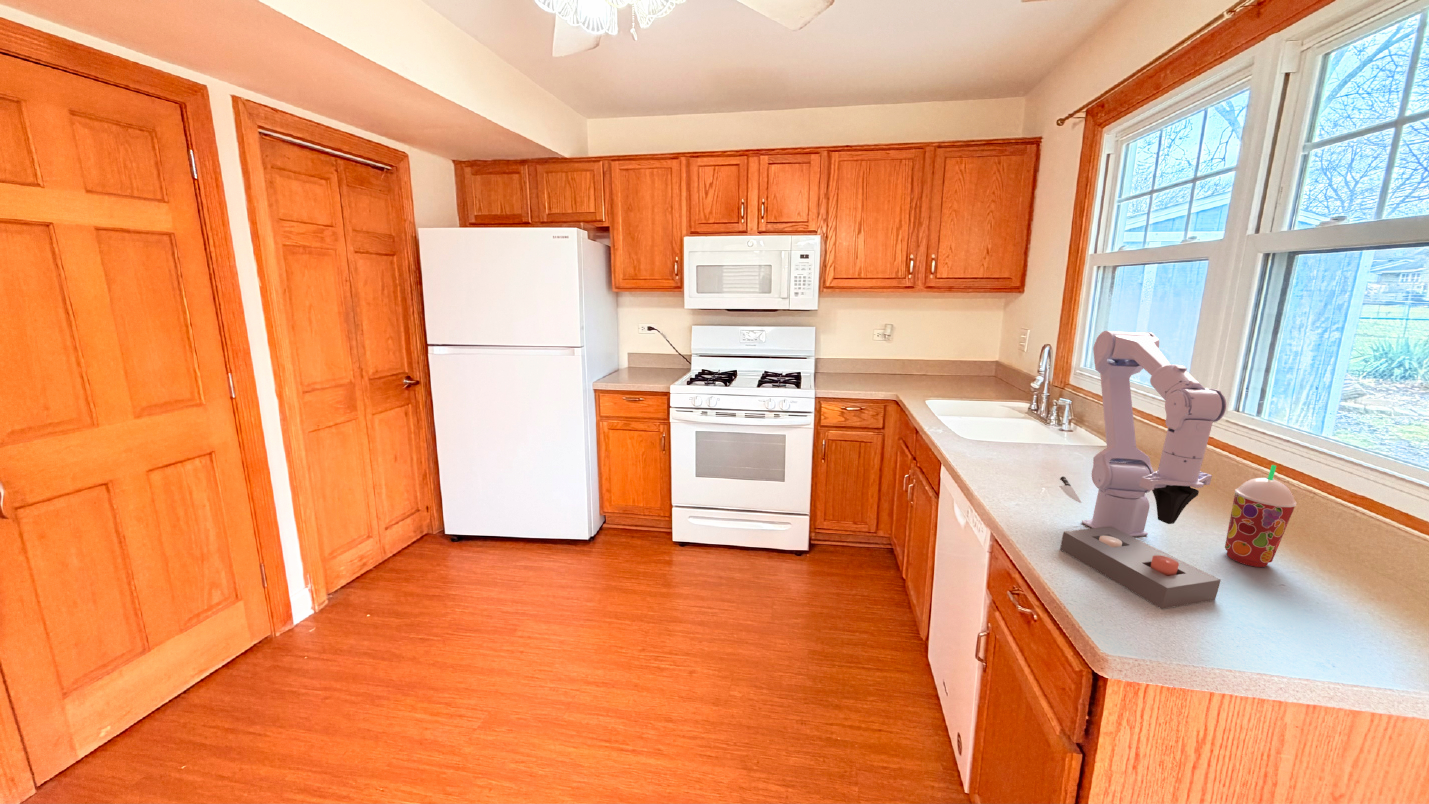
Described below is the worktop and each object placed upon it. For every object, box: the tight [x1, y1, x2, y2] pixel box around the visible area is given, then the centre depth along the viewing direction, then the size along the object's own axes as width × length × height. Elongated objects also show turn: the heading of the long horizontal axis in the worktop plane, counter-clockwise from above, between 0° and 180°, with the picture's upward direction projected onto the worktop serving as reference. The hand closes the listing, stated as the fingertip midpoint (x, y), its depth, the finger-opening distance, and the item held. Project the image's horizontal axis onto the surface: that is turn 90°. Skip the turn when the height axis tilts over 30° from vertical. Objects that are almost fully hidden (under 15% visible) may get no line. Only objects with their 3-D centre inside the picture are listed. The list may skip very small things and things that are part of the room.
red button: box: [1150, 555, 1179, 576], centre depth 94 cm, size 4×4×3 cm
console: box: [1060, 526, 1222, 610], centre depth 99 cm, size 12×20×4 cm, turn 14°
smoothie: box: [1224, 464, 1298, 568], centre depth 103 cm, size 8×8×20 cm
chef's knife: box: [1059, 476, 1082, 504], centre depth 138 cm, size 19×1×3 cm
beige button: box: [1099, 535, 1122, 547], centre depth 104 cm, size 4×4×3 cm
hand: (1165, 521), depth 100 cm, fingers closed
